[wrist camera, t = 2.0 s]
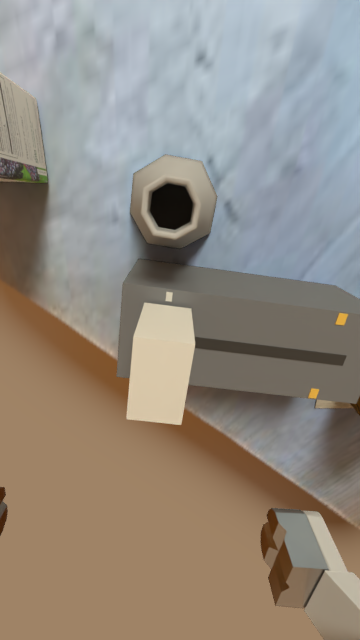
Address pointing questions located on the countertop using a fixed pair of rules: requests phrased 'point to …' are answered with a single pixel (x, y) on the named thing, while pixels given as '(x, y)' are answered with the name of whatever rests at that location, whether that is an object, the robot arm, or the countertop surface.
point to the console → (253, 330)
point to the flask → (173, 201)
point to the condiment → (338, 405)
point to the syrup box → (20, 136)
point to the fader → (161, 364)
